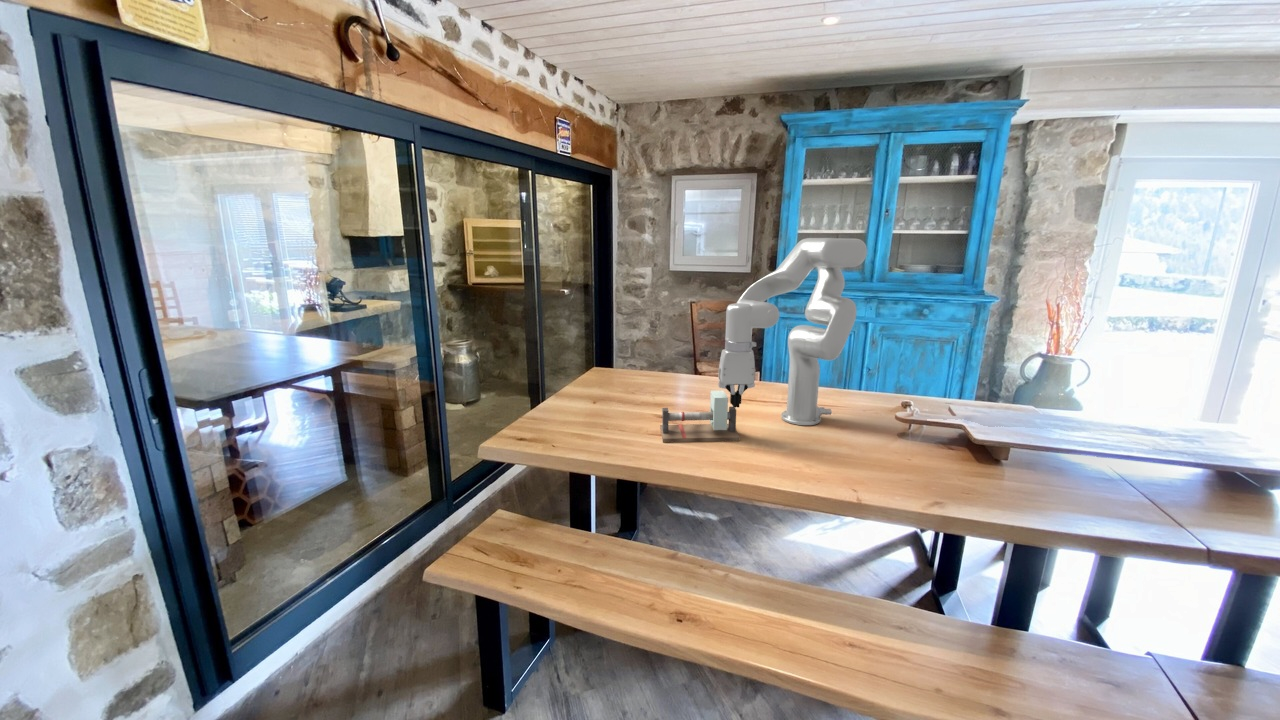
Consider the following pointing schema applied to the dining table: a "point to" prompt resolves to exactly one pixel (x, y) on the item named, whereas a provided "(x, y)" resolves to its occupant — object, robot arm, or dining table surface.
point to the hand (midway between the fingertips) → (735, 405)
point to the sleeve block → (719, 410)
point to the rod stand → (697, 427)
